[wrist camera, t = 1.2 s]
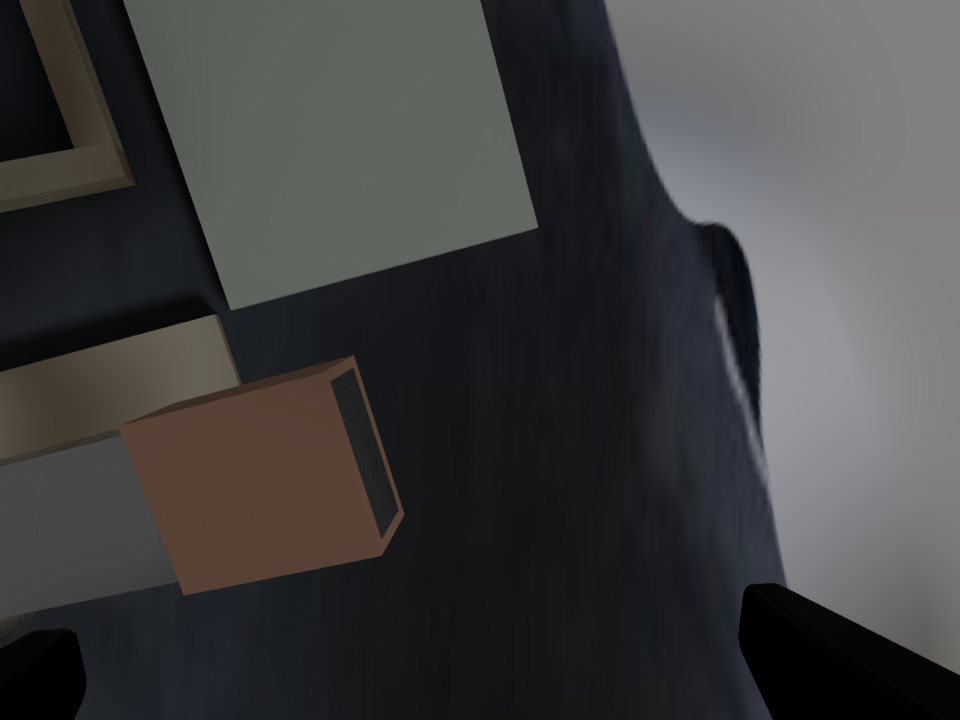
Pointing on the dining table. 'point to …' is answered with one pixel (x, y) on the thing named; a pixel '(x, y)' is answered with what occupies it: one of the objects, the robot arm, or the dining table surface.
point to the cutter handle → (201, 494)
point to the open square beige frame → (67, 120)
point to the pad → (333, 134)
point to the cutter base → (108, 392)
